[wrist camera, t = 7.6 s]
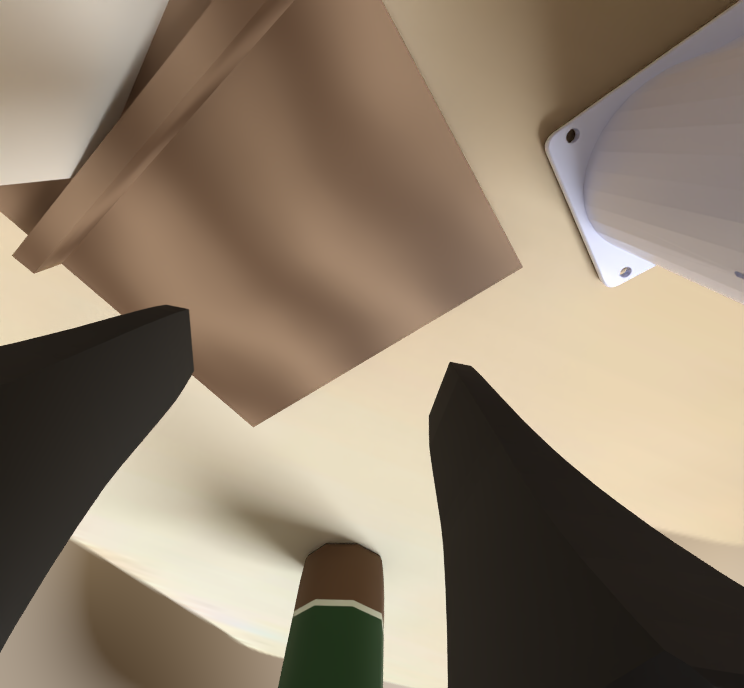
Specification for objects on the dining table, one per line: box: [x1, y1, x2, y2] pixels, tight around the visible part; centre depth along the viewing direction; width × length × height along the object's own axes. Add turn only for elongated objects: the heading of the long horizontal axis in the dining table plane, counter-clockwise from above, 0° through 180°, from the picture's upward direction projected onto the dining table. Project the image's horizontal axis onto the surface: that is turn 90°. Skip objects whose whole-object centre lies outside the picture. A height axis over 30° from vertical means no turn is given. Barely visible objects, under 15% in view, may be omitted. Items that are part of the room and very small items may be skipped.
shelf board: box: [0, 0, 522, 427], centre depth 14 cm, size 18×22×3 cm
